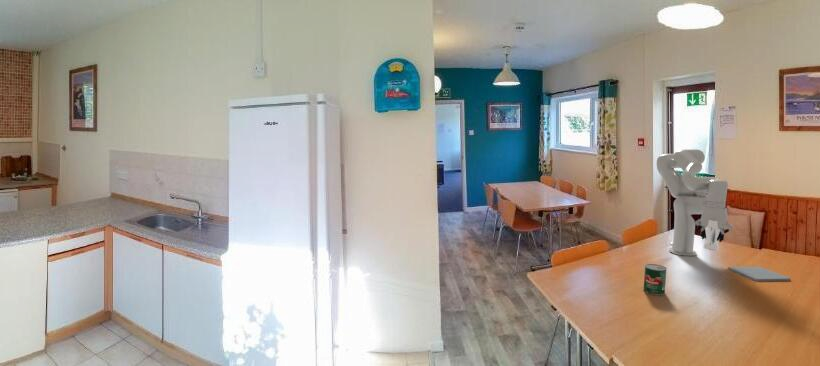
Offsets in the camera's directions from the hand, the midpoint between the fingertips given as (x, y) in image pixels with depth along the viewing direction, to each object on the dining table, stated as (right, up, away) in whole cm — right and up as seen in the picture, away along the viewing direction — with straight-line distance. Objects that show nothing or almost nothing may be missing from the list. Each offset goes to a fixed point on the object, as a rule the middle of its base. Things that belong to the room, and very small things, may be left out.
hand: (711, 239), depth 201 cm
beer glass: (0, -5, +1) cm, 5 cm away
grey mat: (+14, -15, -10) cm, 23 cm away
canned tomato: (-46, -19, -28) cm, 57 cm away
